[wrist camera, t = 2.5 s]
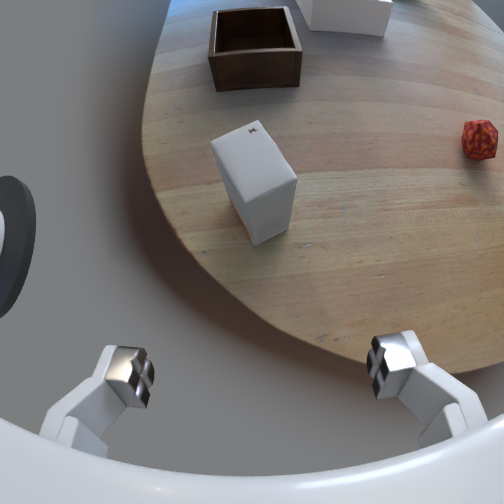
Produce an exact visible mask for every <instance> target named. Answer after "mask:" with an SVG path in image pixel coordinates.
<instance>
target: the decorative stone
mask: <svg viewBox="0 0 504 504" xmlns="http://www.w3.org/2000/svg"><path fill="white" fill-rule="evenodd" d="M497 144H498V131H497V129H496V128H495V127H494V126H493V125H492V123H491V122H490V121H488V120H476V121H469V122H465V126H464V131H463V135H462V145H463V149H464V151H465V153H466V154H467V155H468V156H469V157H470V158H472V159H476V160H484V159H490V158H495V155H496V149H497Z"/></svg>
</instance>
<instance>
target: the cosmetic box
mask: <svg viewBox="0 0 504 504" xmlns="http://www.w3.org/2000/svg"><path fill="white" fill-rule="evenodd" d="M210 144H211V146H212V150H213V153H214V155H215V158H216V161H217V164H218V167H219V170H220V173H221V176H222V179H223V182H224V185H225V187H226V190H227V194H228V196H229V199H230V202H231V204H232V205H233V207H234V209H235V211H236V213H237V214H238V216H239V218H240V220H241V222H242V223H243V225H244V227H245V229H246V231H247V233H248V235H249V237H250V239H251V241H252V243H253V245H254V246H256V245H258V244H260V243H262V242H264V241H266V240H268V239H270V238H272V237H274V236H276V235H278V234H280V233H282V232H284V231H286V230H288V228H289V222H290V217H291V211H292V205H293V200H294V194H295V189H296V183H297V177H296V175H295V174H294V172H293V170H292V169H291V167H290V166H289V164H288V163H287V161H286V160H285V158H284V157H283V155H282V153H281V151H280V150H279V148H278V146H277V145H276V144H275V142H274V141H273V140H272V139H271V137H270V136H269V135H268V133H267V132H266V130H265V129H264V128H263V126H262V125H261V123H260V122H259V121H254V122H252V123H250V124H248V125H245V126H243V127H241V128H239V129H236V130H234V131H232V132H230V133H227V134H225V135H223V136H221V137H219V138H217V139H215V140H213V141H211V142H210Z"/></svg>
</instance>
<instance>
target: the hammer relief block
mask: <svg viewBox="0 0 504 504" xmlns="http://www.w3.org/2000/svg"><path fill="white" fill-rule="evenodd" d="M296 2H297V4H298V6H299V8H300V10H301V12H302V14H303V16H304V18H305V20H306V23H307V25H308V27H309V29H310V31H333V32H347V33H358V34H366V35H374V36H381V37H384V34H385V31H386V28H387V24H388V21H389V18H390V14H391V11H392V8H393V4H394V3H393V2H392V1H391V0H296Z"/></svg>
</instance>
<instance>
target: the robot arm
mask: <svg viewBox="0 0 504 504" xmlns="http://www.w3.org/2000/svg"><path fill="white" fill-rule="evenodd" d="M4 233H5V225H4V218H3V215H2V212H1V211H0V256H1V252H2V248H3V242H4ZM371 344H372V347H373V348H372V349H371V350H370V351H369V352H368V356H367V368H368V372H369V375H370V376H371V377H372V378H373V379H374V382H373V384H372V386H373V390H374V393H375V397H376V400H379V399H384V398H389V397H395V396H397V397H398V398H399V399H400V400H401V401H402V402H403V403H404V404H405V405H406V406H407V407H408V408H409V409H410V410H411V411H412V412H413V413H414V414H415V415H416V416H417V417H418V418H419V419H420V420H421V421H422V422H423V423H424V424H425V425H426V426H427V428H426V429H425V430H424V431H423V432H422V433H421V434H420V435H419V437H418V442H419V446H420V449H419V450H417V451H413V452H410V453H407V454H403V455H400V456H396V457H393V458H389V459H385V460H381V461H377V462H373V463H368V464H363V465H358V466H354V467H348V468H342V469H336V470H329V471H322V472H314V473H305V474H294V475H280V476H216V475H200V474H190V473H181V472H173V471H166V470H159V469H153V468H148V467H142V466H137V465H132V464H127V463H123V462H118V461H114V460H110V459H107V453H108V449H109V448H108V446H107V445H106V444H105V443H104V442H103V441H101V440H100V439H99V438H100V437H101V435H102V434H103V433H104V432H105V431H106V430H107V429H108V428H109V427H110V426H111V425H112V423H113V422H114V421H115V420H116V419H117V418H118V417H119V416H120V415H121V413H122V412H123V411H124V410H125V409H126V408H127V407H137V408H145V409H146V408H147V404H148V400H149V397H150V393H149V391H148V388H149V387H150V386H152V385H153V381H154V368H153V365H152V363H151V361H150V360H148V359H147V358H146V356H147V353H146V351H145V349H144V348H135V347H125V346H114V345H107V346H106V347H105V348H104V349H103V352H102V354H101V356H100V358H99V361H98V363H97V365H96V368H95V370H94V372H93V375H92V377H91V378H89V377H88V378H87V379H86V380H84V381H83V382H82V383H81V384H79V385H78V386H77V387H76V388H74V389H73V390H72V391H71V392H69V393H68V394H67V395H66V396H64V397H63V398H62V399H61V400H60V401H58V402H57V403H56V404H54V405H53V406H52V407H51V408H49V410H48V412H47V415H46V417H45V420H44V422H43V425H42V427H41V430H40V432H39V435H36V434H34V433H31V432H29V431H27V430H25V429H22V428H20V427H18V426H16V425H14V424H12V423H10V422H7V421H6V420H4V419H2V418H0V504H504V413H503V414H502V415H500V416H498V417H496V418H494V419H492V420H490V421H488V419H487V417H486V414H485V412H484V409H483V407H482V405H481V402H480V400H479V398H478V396H477V393H475V392H474V391H472V390H471V389H469V388H468V387H467V386H465V385H464V384H462V383H461V382H460V381H458V380H457V379H455V378H454V377H453V376H451V375H450V374H448V373H447V372H445V371H444V370H443V369H441V368H440V367H438V366H437V365H435V364H434V363H429V361H428V359H427V357H426V355H425V353H424V351H423V349H422V347H421V344H420V342H419V340H418V338H417V336H416V334H415V332H414V331H413V330H409V331H404V332H396V333H391V334H385V335H379V336H374V338H373V339H372V342H371Z"/></svg>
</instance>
